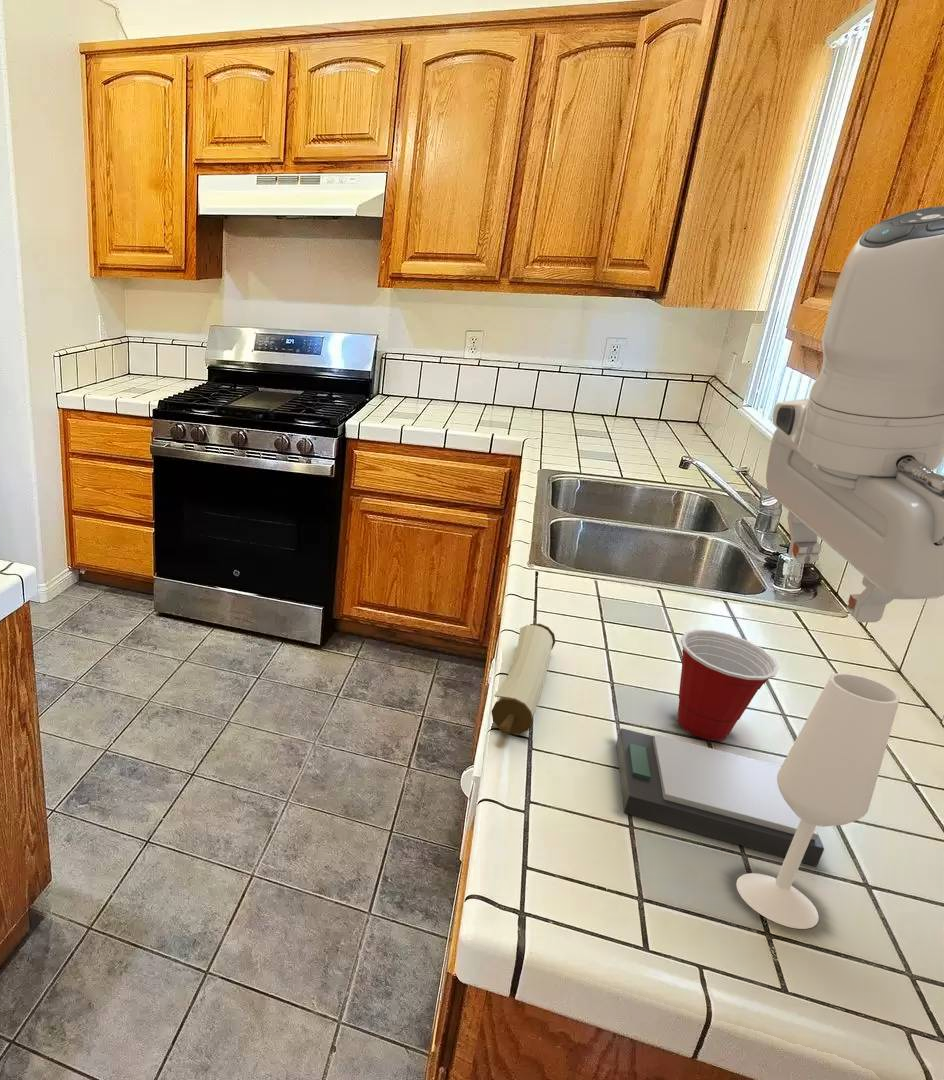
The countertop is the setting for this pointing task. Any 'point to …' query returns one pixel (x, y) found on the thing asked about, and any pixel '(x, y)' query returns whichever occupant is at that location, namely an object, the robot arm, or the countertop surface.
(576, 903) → the countertop surface
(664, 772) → the kitchen scale
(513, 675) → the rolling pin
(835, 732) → the champagne flute
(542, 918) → the countertop surface
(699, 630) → the plastic cup
